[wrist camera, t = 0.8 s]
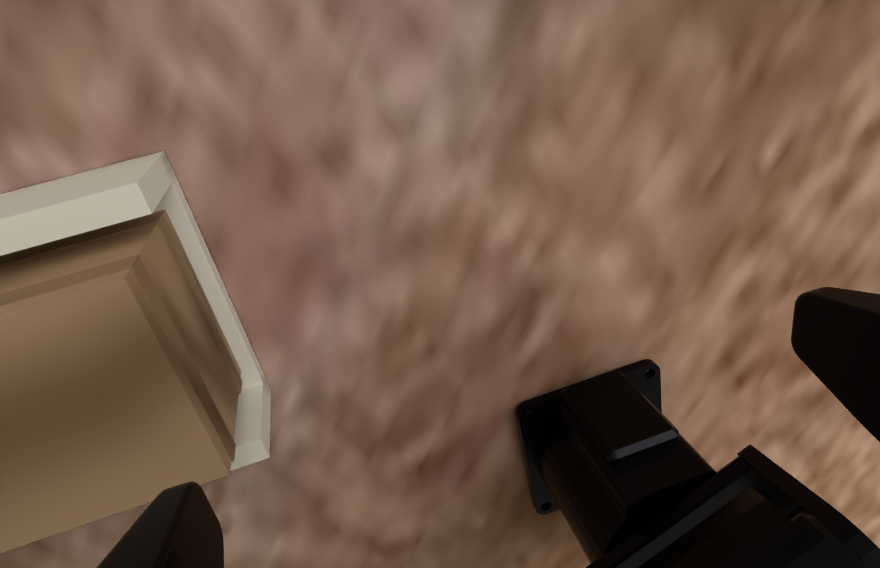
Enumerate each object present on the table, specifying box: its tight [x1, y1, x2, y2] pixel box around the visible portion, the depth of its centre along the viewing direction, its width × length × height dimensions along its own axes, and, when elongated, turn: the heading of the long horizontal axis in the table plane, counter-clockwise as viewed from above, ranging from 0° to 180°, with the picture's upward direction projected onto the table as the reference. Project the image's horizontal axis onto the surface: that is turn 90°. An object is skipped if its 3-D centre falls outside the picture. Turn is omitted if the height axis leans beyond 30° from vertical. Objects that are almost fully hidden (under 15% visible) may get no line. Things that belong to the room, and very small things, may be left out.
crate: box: [0, 210, 242, 553], centre depth 15 cm, size 6×6×5 cm
